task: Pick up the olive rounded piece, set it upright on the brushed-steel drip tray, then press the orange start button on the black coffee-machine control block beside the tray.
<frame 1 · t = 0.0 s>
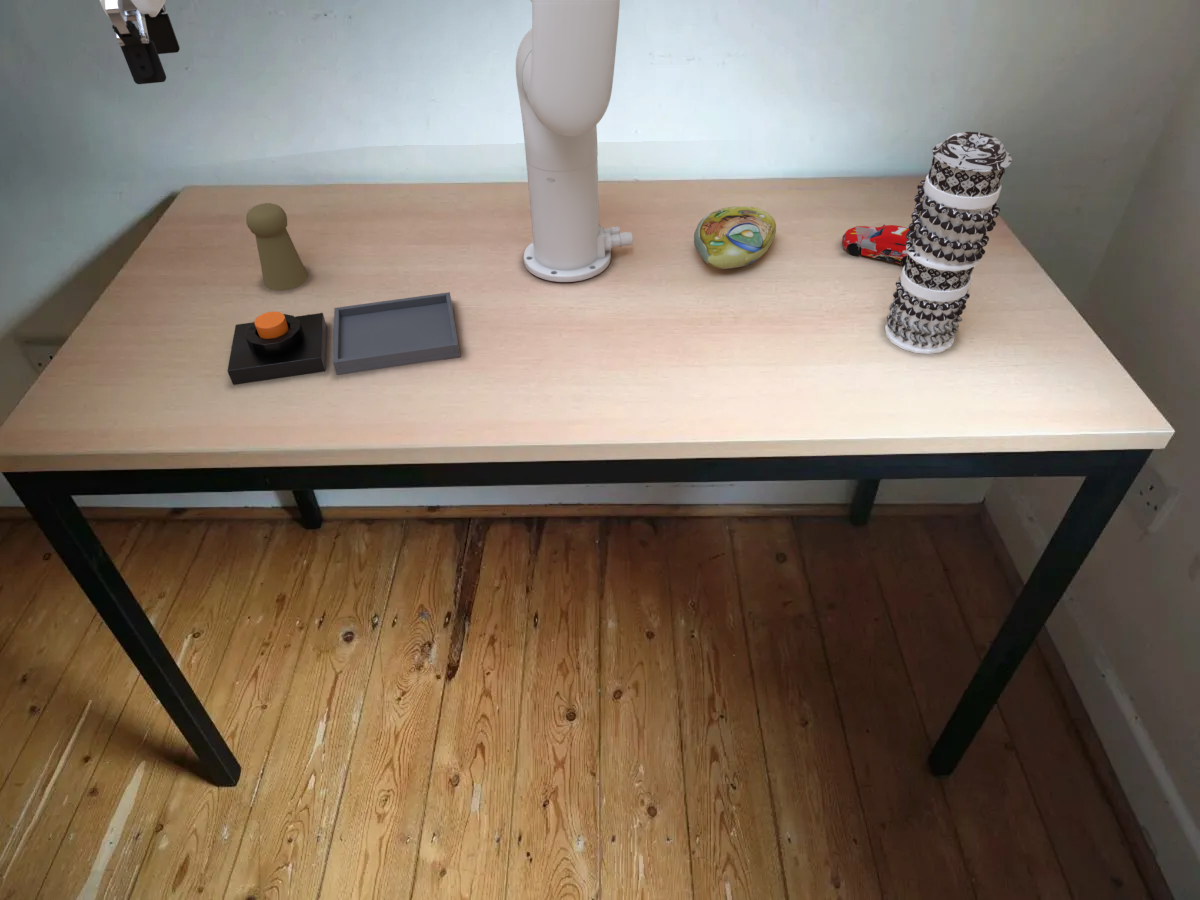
hand: (159, 66, 93), 31 cm above the table, tool pointing down, fingers open, 9 cm apart
olive rounded piece: (286, 280, 119), on the table
cell model: (734, 253, 122), on the table
drip tray: (397, 338, 108), on the table
control block: (281, 354, 106), on the table
black white cylinder: (918, 335, 106), on the table
race car: (886, 255, 120), on the table
start button: (271, 325, 103), point 4 cm above the table, slide at 0.1 cm
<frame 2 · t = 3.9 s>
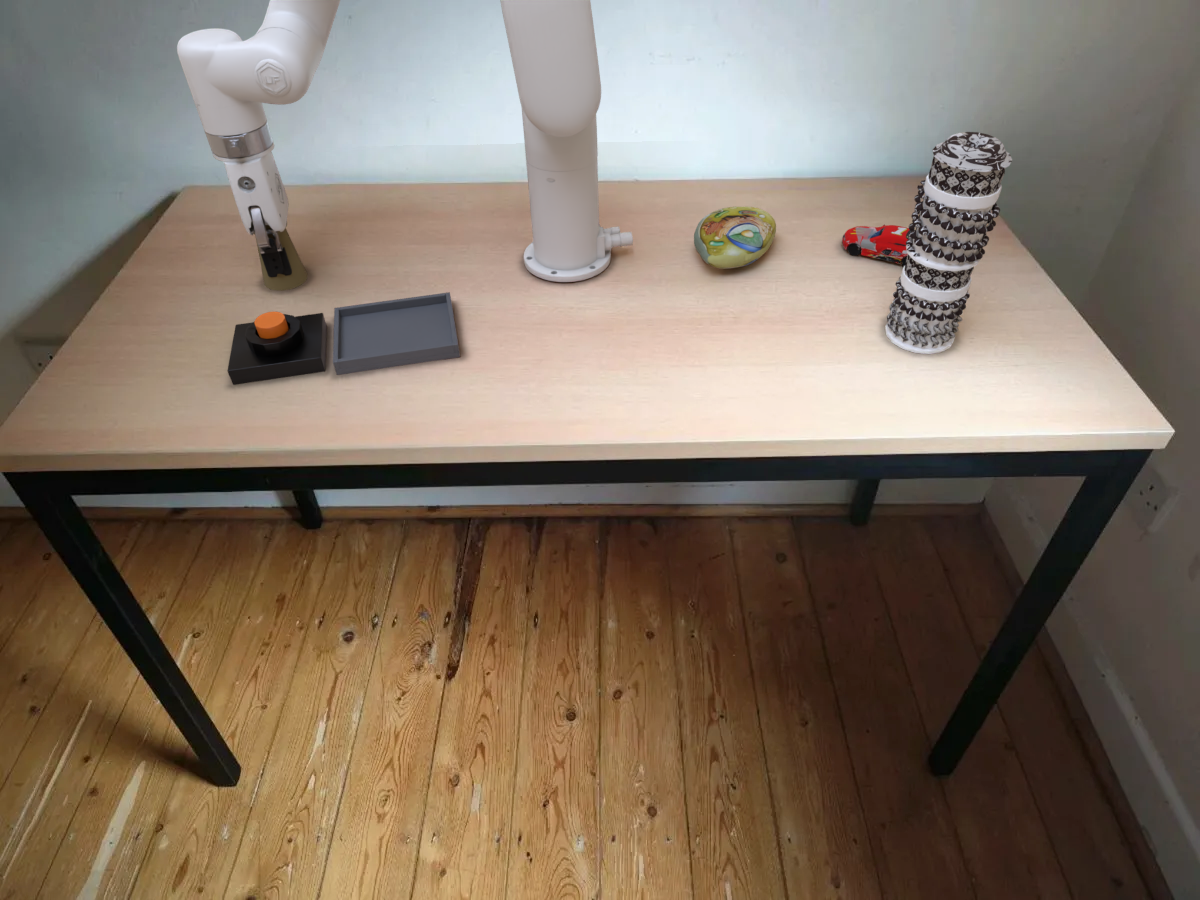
hand: (281, 265, 117), 2 cm above the table, tool pointing down, fingers closed on olive rounded piece, 4 cm apart
olive rounded piece: (286, 280, 119), on the table, touching gripper
everything else where it was.
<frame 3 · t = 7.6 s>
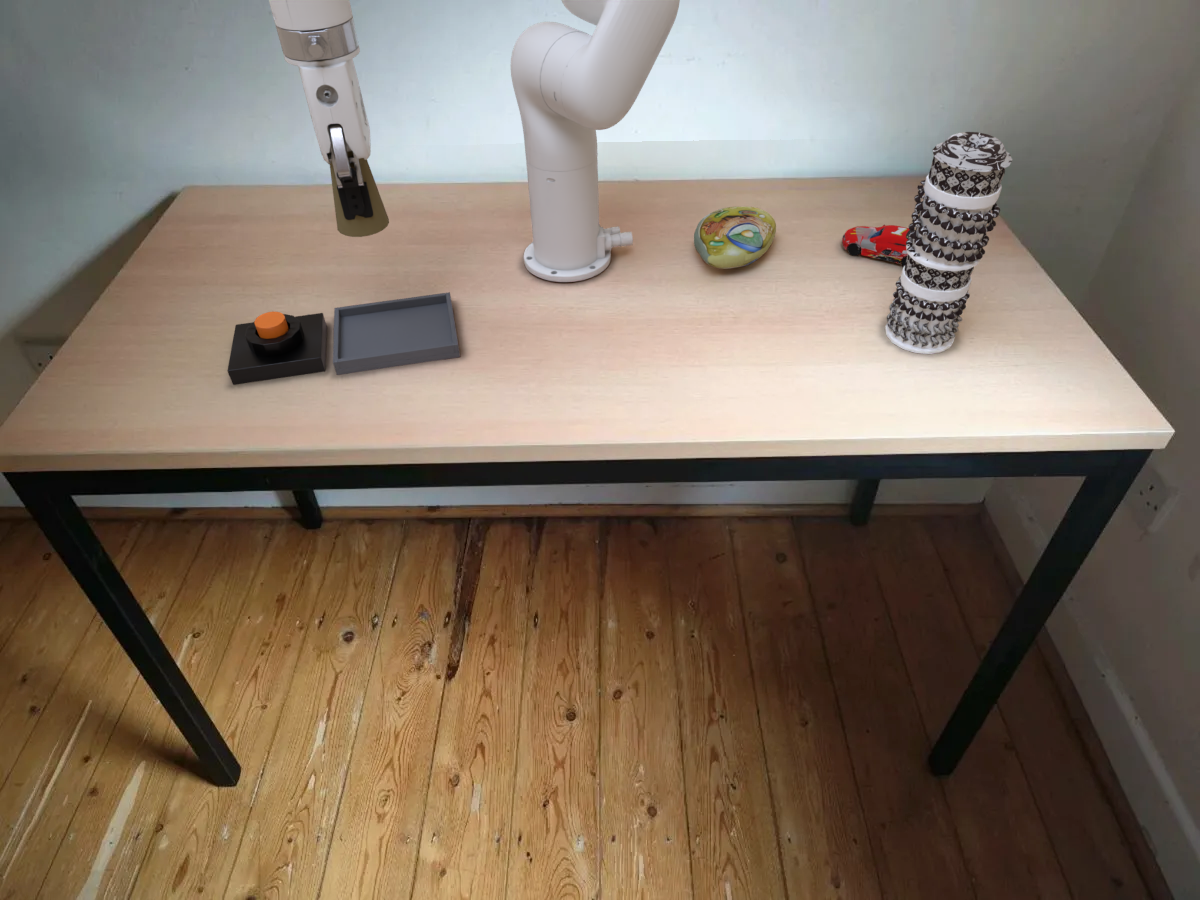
hand: (359, 206, 96), 18 cm above the table, tool pointing down, fingers closed on olive rounded piece, 4 cm apart
olive rounded piece: (363, 225, 98), point 15 cm above the table, touching gripper
everything else where it was.
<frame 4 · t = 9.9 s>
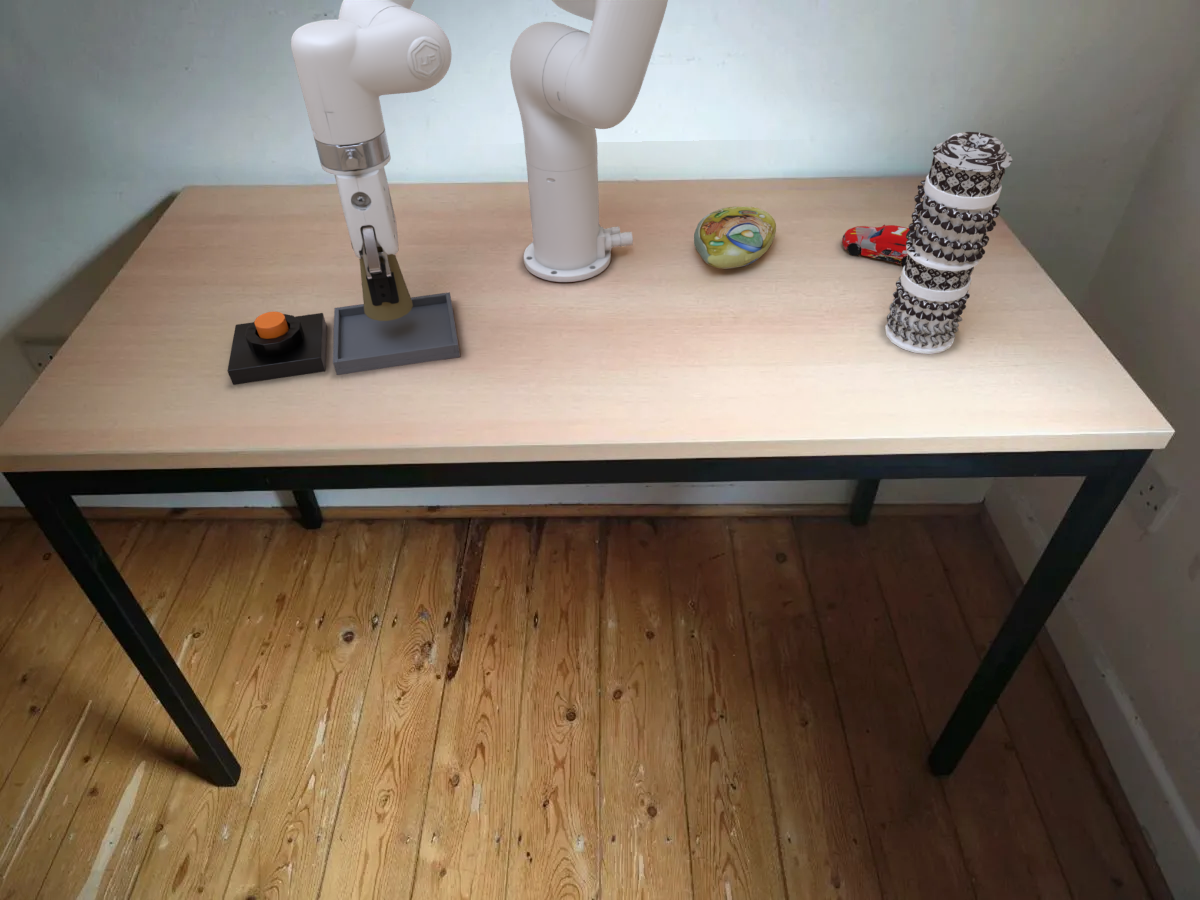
hand: (385, 291, 103), 7 cm above the table, tool pointing down, fingers closed on olive rounded piece, 4 cm apart
olive rounded piece: (388, 308, 105), point 5 cm above the table, touching gripper
everything else where it was.
when the fingers open (3 cm above the table, at t = 11.3 s): olive rounded piece stays where it is, resting on drip tray.
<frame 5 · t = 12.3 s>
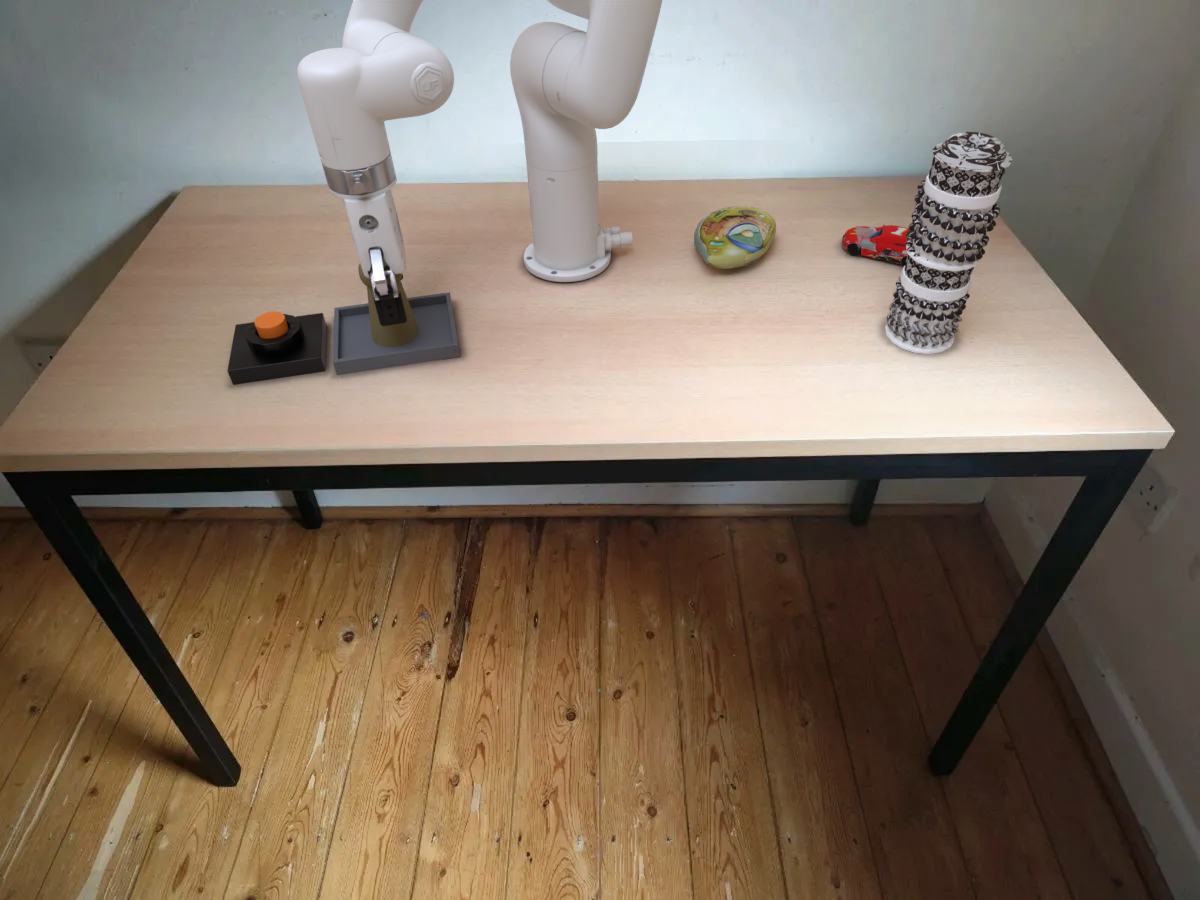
hand: (392, 301, 104), 5 cm above the table, tool pointing down, fingers open, 9 cm apart
olive rounded piece: (395, 334, 107), point 1 cm above the table, touching drip tray
everything else where it was.
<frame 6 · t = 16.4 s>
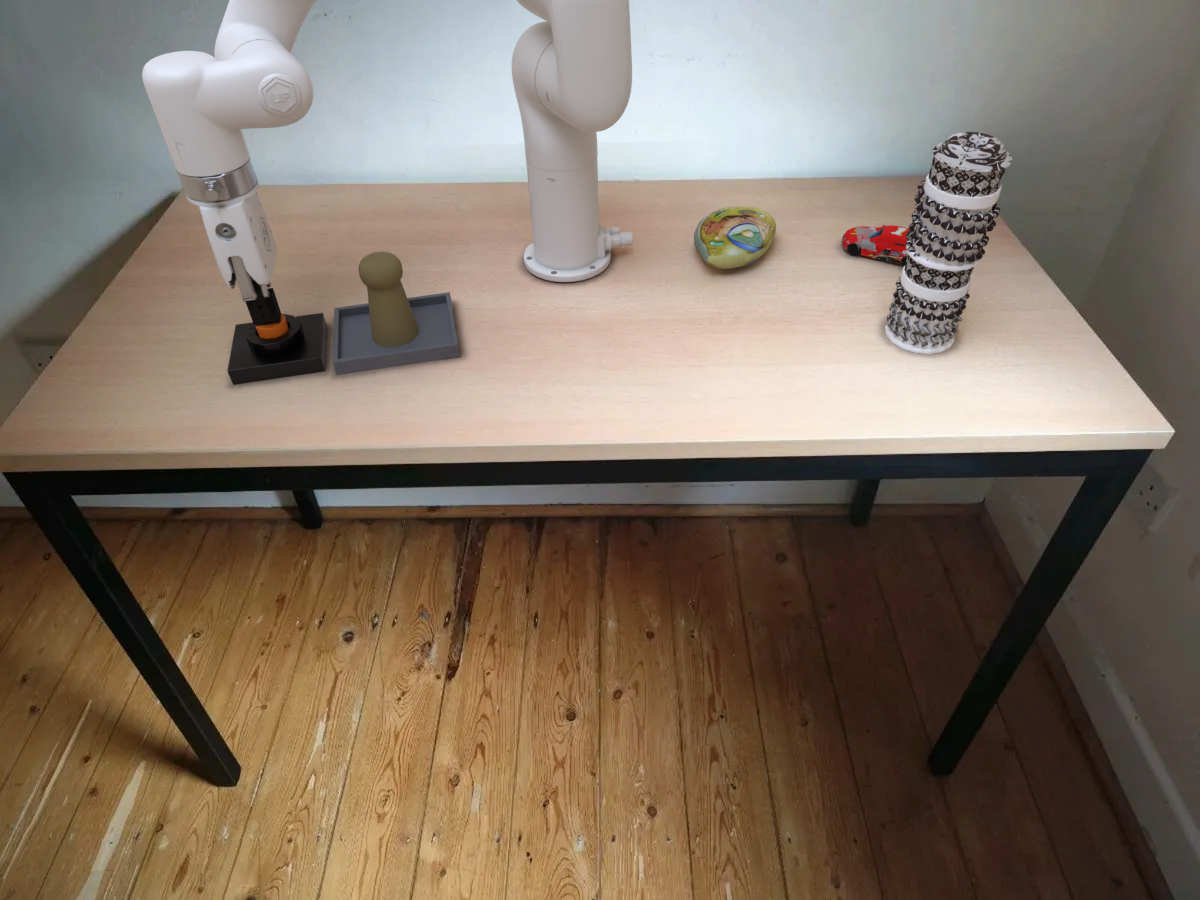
hand: (268, 320, 102), 5 cm above the table, tool pointing down, fingers closed
start button: (271, 326, 103), point 4 cm above the table, slide at 0.0 cm, touching gripper
everything else where it was.
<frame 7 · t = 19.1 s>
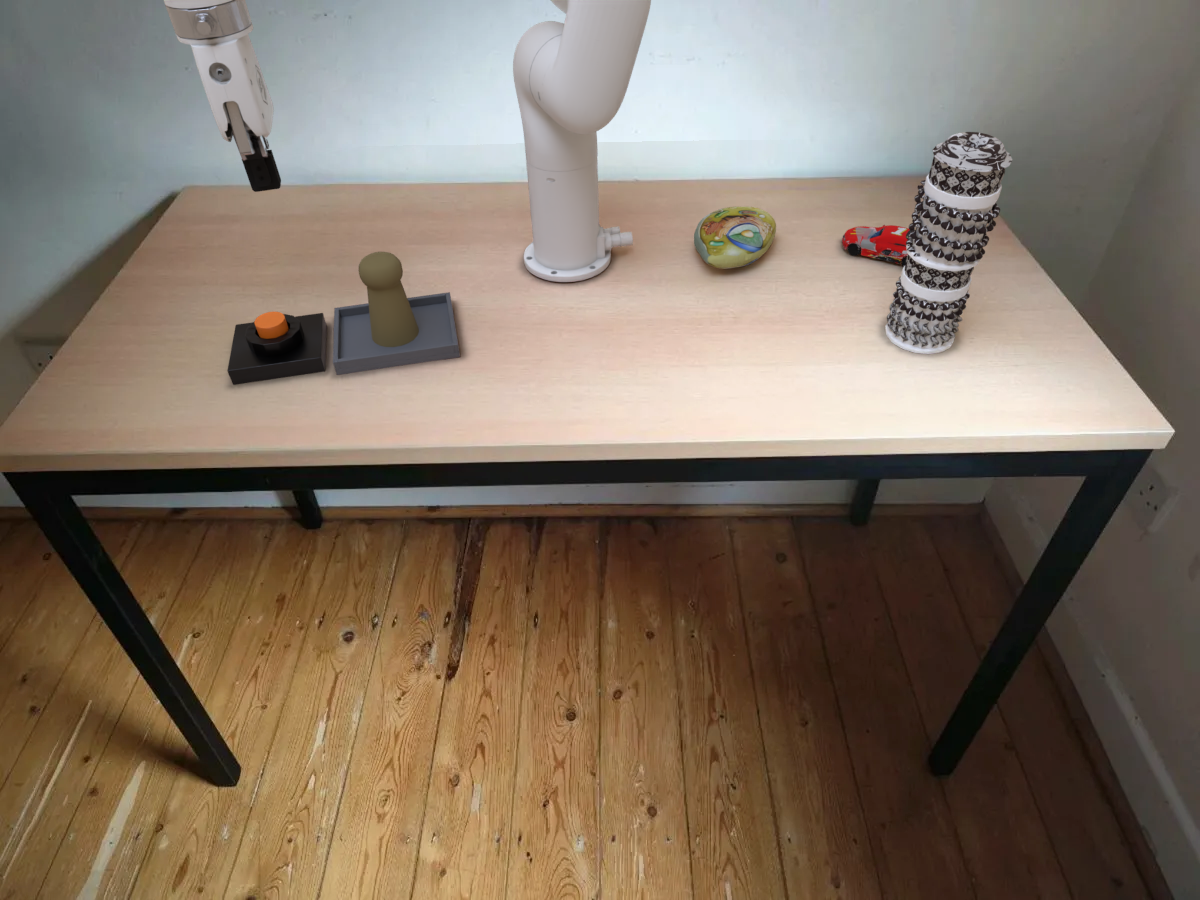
hand: (267, 186, 97), 19 cm above the table, tool pointing down, fingers closed
start button: (271, 325, 103), point 4 cm above the table, slide at 0.1 cm
everything else where it was.
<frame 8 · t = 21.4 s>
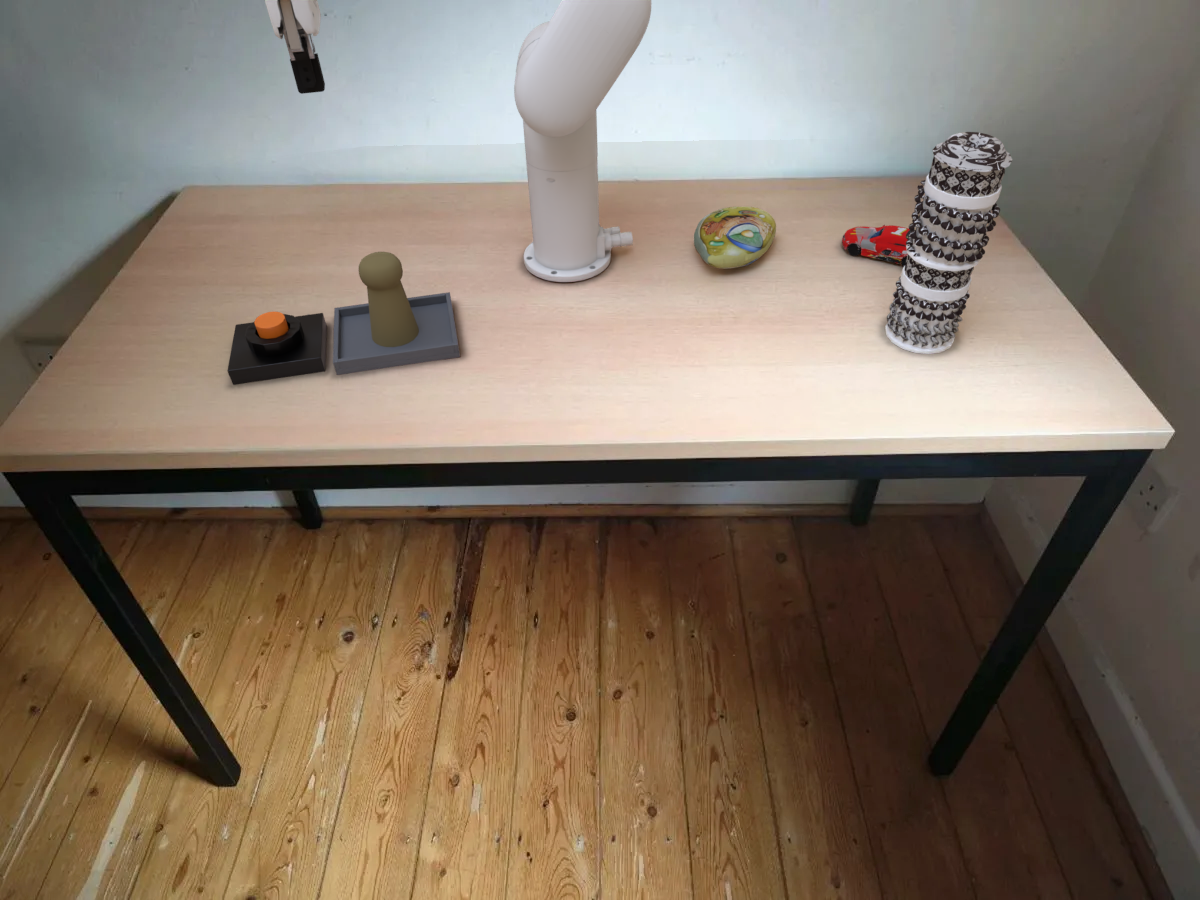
hand: (312, 89, 104), 25 cm above the table, tool pointing down, fingers closed
nothing on the table moved.
at the end: olive rounded piece inside the target area in the drip tray (0.1 cm from its centre), point 0.6 cm above the drip tray's base; olive rounded piece tilted 0°; start button pushed in 1.1 cm at the most during the clip, back to where it started at the end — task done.
